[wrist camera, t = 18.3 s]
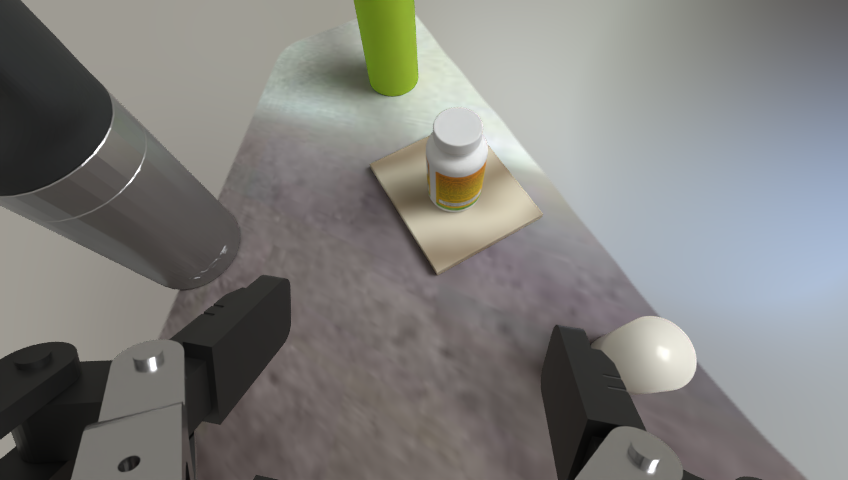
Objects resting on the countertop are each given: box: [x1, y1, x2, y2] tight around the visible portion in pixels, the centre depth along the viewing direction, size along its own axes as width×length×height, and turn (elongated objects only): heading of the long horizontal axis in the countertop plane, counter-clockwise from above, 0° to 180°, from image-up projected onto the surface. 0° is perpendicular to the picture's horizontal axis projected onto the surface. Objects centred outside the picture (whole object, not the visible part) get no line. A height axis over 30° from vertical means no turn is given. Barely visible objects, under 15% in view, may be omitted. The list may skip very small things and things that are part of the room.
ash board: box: [370, 136, 543, 275], centre depth 41 cm, size 14×12×1 cm
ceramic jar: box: [591, 316, 696, 396], centre depth 31 cm, size 5×5×7 cm
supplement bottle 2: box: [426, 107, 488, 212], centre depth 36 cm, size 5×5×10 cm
